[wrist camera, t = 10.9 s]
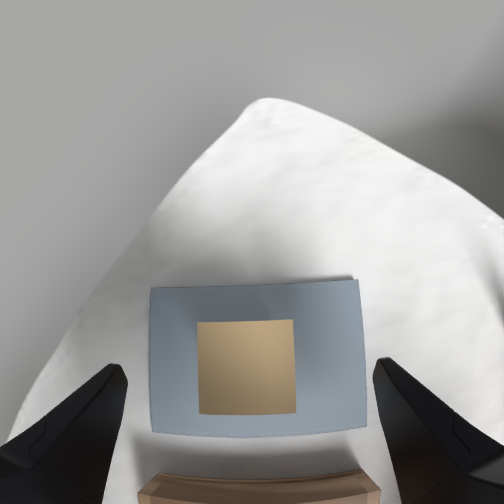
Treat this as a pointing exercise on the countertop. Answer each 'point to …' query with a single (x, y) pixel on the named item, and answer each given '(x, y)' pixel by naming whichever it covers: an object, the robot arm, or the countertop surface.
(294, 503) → the open wooden box
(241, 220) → the countertop surface
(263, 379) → the lid
